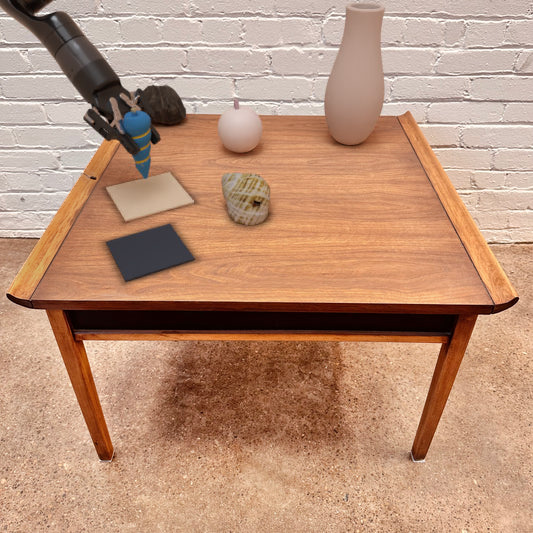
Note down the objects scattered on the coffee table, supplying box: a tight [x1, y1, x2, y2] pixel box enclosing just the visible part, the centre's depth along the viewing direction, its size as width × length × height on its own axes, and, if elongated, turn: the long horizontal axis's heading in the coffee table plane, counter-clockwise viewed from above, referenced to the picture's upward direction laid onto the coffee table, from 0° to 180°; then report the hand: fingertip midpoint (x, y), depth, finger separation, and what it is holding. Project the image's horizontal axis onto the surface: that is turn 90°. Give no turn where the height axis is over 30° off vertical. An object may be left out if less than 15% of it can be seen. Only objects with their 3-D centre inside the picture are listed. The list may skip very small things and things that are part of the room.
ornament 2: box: [217, 98, 264, 154], centre depth 111 cm, size 10×10×12 cm
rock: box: [142, 84, 187, 125], centre depth 125 cm, size 10×11×10 cm
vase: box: [323, 1, 386, 146], centre depth 110 cm, size 14×14×30 cm
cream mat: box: [105, 171, 195, 223], centre depth 98 cm, size 14×14×1 cm
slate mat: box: [105, 223, 196, 283], centre depth 83 cm, size 12×12×1 cm
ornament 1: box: [123, 105, 152, 179], centre depth 91 cm, size 5×5×15 cm
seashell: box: [220, 172, 271, 226], centre depth 92 cm, size 10×10×10 cm
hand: (147, 147), depth 90 cm, fingers closed on ornament 1, 5 cm apart
